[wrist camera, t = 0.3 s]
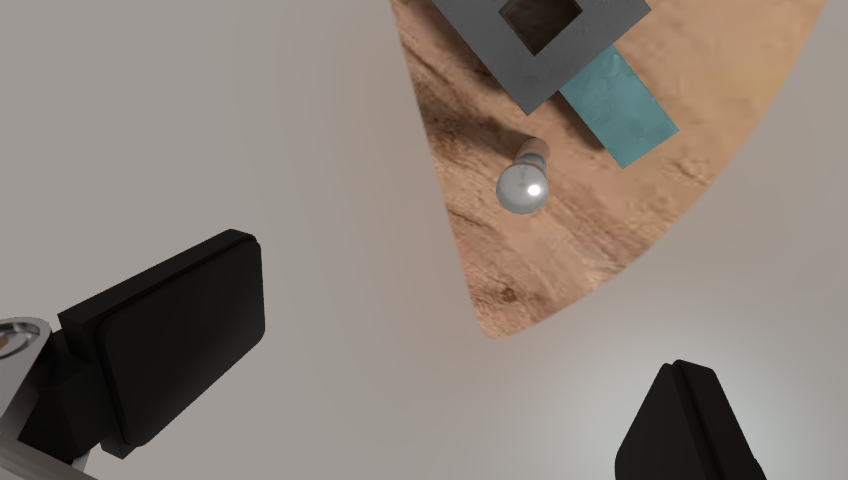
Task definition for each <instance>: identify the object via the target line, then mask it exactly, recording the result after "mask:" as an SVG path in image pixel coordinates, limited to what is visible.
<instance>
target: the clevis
mask: <svg viewBox="0 0 848 480" xmlns="http://www.w3.org/2000/svg"><path fill="white" fill-rule="evenodd" d="M431 1H432V2H433V3H434V4H435V5H436V7H437V8H438V9H439V10H440V11H441V13H442V14H443V15H444V16H445V18H446V19H447V20H448V21H449V22H450V24H451V25H452V26H453V27H454V28H455V30H456V31H457V32H458V33H459V34H460V36H461V37H462V38H463V39H464V41H465V42H466V43H467V44H468V45H469V47H470V48H471V49H472V50H473V51H474V53H475V54H476V55H477V56H478V57H479V59H480V60H481V61H482V62H483V63H484V65H485V66H486V67H487V68H488V70H489V71H490V72H491V73H492V74H493V76H494V77H495V78H496V79H497V80H498V82H499V83H500V84H501V85H502V86H503V88H504V89H505V90H506V91H507V93H508V94H509V95H510V96H511V97H512V99H513V100H514V101H515V102H516V103H517V105H518V106H519V107H520V108H521V109H522V111H523V112H524V113H525V114H526V115H527V116H528V115H530V114H531V113H532V112H533V111H534V110H535V109H537V108H538V107H539V106H540V105H541V104H542V103H544V102H545V101H546V100H547V99H548V98H549V97H551V96H552V95H553V94H554V93H555V92H556V91H558V90H559V91H560V92H561V94H562V95H563V96H564V97H565V99H566V100H567V101H568V102H569V103H570V105H571V106H572V107H573V108H574V110H575V111H576V112H577V113H578V115H579V116H580V117H581V118H582V120H583V121H584V122H585V123H586V125H587V126H588V127H589V128H590V129H591V131H592V132H593V133H594V134H595V136H596V137H597V138H598V139H599V141H600V142H601V143H602V144H603V146H604V147H605V148H606V149H607V150H608V152H609V153H610V154H611V155H612V157H613V158H614V159H615V160H616V162H617V163H618V164H619V165H620V167H621V168H622V169H623V168H625V167H626V166H628V165H629V164H631V163H632V162H634V161H635V160H637V159H638V158H640V157H641V156H643V155H644V154H646V153H647V152H649V151H650V150H652V149H653V148H655V147H656V146H657V145H659V144H660V143H662V142H663V141H665V140H666V139H668V138H669V137H671V136H672V135H674V134H675V133H677V132H678V131H679V130H678V128H677V127H676V126H675V124H674V123H673V122H672V121H671V119H670V118H669V117H668V115H667V114H666V113H665V112H664V110H663V109H662V108H661V106H660V105H659V104H658V103H657V101H656V100H655V99H654V97H653V96H652V95H651V93H650V92H649V91H648V90H647V88H646V87H645V86H644V84H643V83H642V82H641V81H640V79H639V78H638V77H637V75H636V74H635V73H634V72H633V70H632V69H631V68H630V66H629V65H628V64H627V63H626V61H625V60H624V59H623V57H622V56H621V55H620V54H619V52H618V51H617V50H616V48H615V47H614V46H613V45H612V44H613V43H614V42H615V41H616V40H617V39H618V38H620V37H621V36H622V35H623V34H624V33H625V32H627V31H628V30H629V29H630V28H631V27H633V26H634V25H635V24H636V23H637V22H638V21H640V20H641V19H642V18H643V17H644V16H645V15H647V14H648V13H649V12H650V11H651V8H650V7H649V6H648V4H647V3H646V2H645V0H571V2H572V3H573V4H574V6H575V7H576V8H577V9H578V11H579V12H580V13H581V14H580V15H578V16H577V17H576V18H575V19H574V20H573V21H572V22H571V23H570V24H569V25H568V26H567V27H566V28H565V29H564V30H562V31H561V32H560V33H559V34H558V35H557V36H556V37H555V38H554V39H553V40H552V41H551V42H550V43H549V44H548V45H546V46H545V47H544V48H543V49H542V50H541V51H540V52H539V53H538V54H537V53H536V52H535V51H534V49H533V48H532V47H531V46H530V45H529V43H528V42H527V41H526V40H525V38H524V37H523V36H522V35H521V33H520V32H519V31H518V30H517V28H516V27H515V26H514V25H513V23H512V22H511V21H510V20H509V18H508V17H507V15H508V14H509V12H510V11H511V10H512V9H513V8H514V7H515V6H516V5H517V4H518V3H519V2H520V1H521V0H431Z"/></svg>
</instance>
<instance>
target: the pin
mask: <svg viewBox="0 0 848 480" xmlns="http://www.w3.org/2000/svg"><path fill="white" fill-rule="evenodd" d="M549 156H550V149H549V146H548V145H547V143H546V142H545V141H543V140H542V139H539V138H531V139H528V140H526V141H525V142H524V143H523V144H522V145H521V147H520V149H519V151H518V153H517V155H516V157H515V159H514V161H513V163H512V165H510V166H508V167H507V168H506V169H505V170H504V171H503V172H502V174H501V175H500V177H499V179H498V181H497V185H496V195H497V198H498V200H499V202H500V204H501V205H502V206H503V207H504V208H505V209H507V210H508V211H510V212H512V213H515V214H529V213H532V212H534V211H536V210H538V209H539V208H540V207H541V206H542V205H543V204H544V203H545V201H546V199H547V196H548V191H549V181H548V178H547V175H546V172H547V166H548V161H549Z"/></svg>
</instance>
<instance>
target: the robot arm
mask: <svg viewBox="0 0 848 480" xmlns="http://www.w3.org/2000/svg"><path fill="white" fill-rule="evenodd" d="M57 315H58V318H59V321H60V324H61V327H62V329H60V330H58V331H56V332H55V333H53V332H52V330H51V327H50V326H49V323H48V322H46V321H44V320H42V319H39V318H32V317H15V318H9V319H3V320H0V480H97V479H95V478H93V477H91V476H89V475H87V474H85V473H83V471H84V468H85V465H86V462H87V459H88V456H89V453H90V450H91V449H92V448H93V447H94V446H95V445H97V444H98V443H99V442H100V444H101V448H102V450H104V451H105V452H108V453H110V454H112V455H114V456H116V457H118V458H120V459H124V458H125V457H126V456H127V455H128V454H129V453H131V452H132V451H133V450H134V449H135V448H136V447H139V446H143V445H145V444H146V443H148V442H149V441H150V440H151V439H153V438H154V437H155V436H156V435H157V434H158V433H159V432H160V431H161V430H162V429H164V428H165V427H166V426H167V425H168V424H169V423H170V422H171V421H172V420H174V419H175V417H177V416H178V415H179V414H180V413H181V412H182V411H183V410H185V409H186V407H188V406H189V405H190V404H191V403H192V402H193V401H195V400H196V399H197V398H198V397H199V396H200V395H201V394H202V393H203V392H204V391H205V390H206V389H208V388H209V387H210V386H211V385H212V384H213V383H214V382H215V381H216V380H217V379H219V378H220V377H221V376H222V375H223V374H224V373H225V372H226V371H228V370H229V369H230V368H231V367H232V366H233V365H234V364H235V363H236V362H237V361H239V360H240V359H241V358H242V357H243V356H244V355H245V354H246V353H247V352H248V351H250V350H251V349H252V348H253V347H254V346H255V345H256V344H257V343H258V342H259V341H260V340H261V339H262V337H263V335H264V332H265V316H264V297H263V278H262V260H261V247H260V245H259V243H258V242H257V240H256V238H255V237H254V236H253V235H251V234H248V233H244V232H241V231H238V230H235V229H229V230H226V231H224V232H222V233H220V234H218V235H216V236H214V237H212V238H210V239H208V240H206V241H204V242H202V243H200V244H198V245H196V246H194V247H192V248H190V249H188V250H186V251H184V252H182V253H179V254H177V255H175V256H174V257H171V258H169V259H168V260H165V261H164V262H161V263H159V264H157V265H156V266H153V267H151V268H149V269H147V270H145V271H143V272H141V273H139V274H137V275H135V276H133V277H131V278H129V279H127V280H125V281H123V282H121V283H119V284H117V285H115V286H113V287H111V288H109V289H107V290H105V291H103V292H101V293H99V294H97V295H95V296H93V297H91V298H89V299H87V300H85V301H83V302H81V303H79V304H77V305H75V306H73V307H71V308H69V309H67V310H65V311H63V312H61V313H59V314H57ZM615 478H616V480H767V479H766V477H765V475H764V472H763V470H762V468H761V467H760V465H759V463H758V462H757V460H756V459H755V458H754V456H753V454H752V452H751V450H750V448H749V445H748V443H747V441H746V439H745V437H744V435H743V432H742V430H741V428H740V426H739V424H738V422H737V419H736V417H735V415H734V413H733V411H732V408H731V406H730V404H729V402H728V400H727V398H726V395H725V393H724V391H723V389H722V387H721V384H720V383H719V380H718V378H717V376H716V374H715V372H714V371H713V370H712V369H710V368H708V367H704V366H701V365H697V364H694V363H690V362H687V361H684V360H680V359H679V360H676V361H675V362H674V363H673V364H672V365H671V364H668V363H665V364H663V365H662V367H661V368H660V370H659V372H658V374H657V376H656V378H655V380H654V382H653V384H652V386H651V388H650V390H649V392H648V394H647V396H646V397H645V400H644V401H643V403H642V405H641V407H640V409H639V411H638V413H637V415H636V417H635V419H634V421H633V423H632V425H631V427H630V429H629V431H628V433H627V435H626V436H625V438H624V440H623V442H622V444H621V446H620V448H619V450H618V452H617V455H616V459H615Z"/></svg>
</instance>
